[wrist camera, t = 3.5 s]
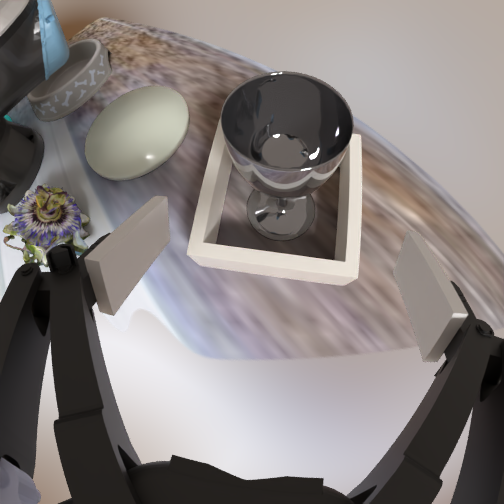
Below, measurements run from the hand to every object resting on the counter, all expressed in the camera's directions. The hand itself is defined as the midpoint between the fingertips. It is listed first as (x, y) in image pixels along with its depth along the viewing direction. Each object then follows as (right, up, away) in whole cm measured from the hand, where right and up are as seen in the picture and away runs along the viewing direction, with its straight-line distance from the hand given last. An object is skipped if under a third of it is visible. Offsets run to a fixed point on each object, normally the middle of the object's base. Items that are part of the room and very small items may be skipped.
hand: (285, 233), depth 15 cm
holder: (+1, +4, +15) cm, 16 cm away
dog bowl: (-35, +30, +24) cm, 52 cm away
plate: (-17, +15, +19) cm, 30 cm away
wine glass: (+1, +4, +15) cm, 16 cm away
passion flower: (-25, 0, +16) cm, 30 cm away
